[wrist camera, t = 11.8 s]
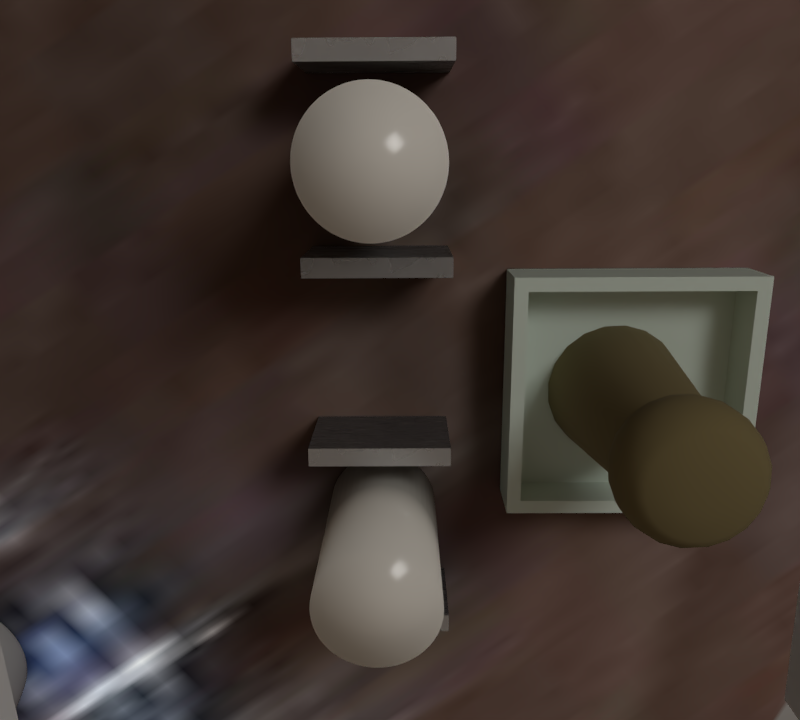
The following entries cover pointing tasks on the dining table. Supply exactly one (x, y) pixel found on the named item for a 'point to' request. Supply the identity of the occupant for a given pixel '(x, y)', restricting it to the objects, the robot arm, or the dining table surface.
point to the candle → (13, 662)
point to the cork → (659, 438)
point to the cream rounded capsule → (379, 568)
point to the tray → (617, 306)
